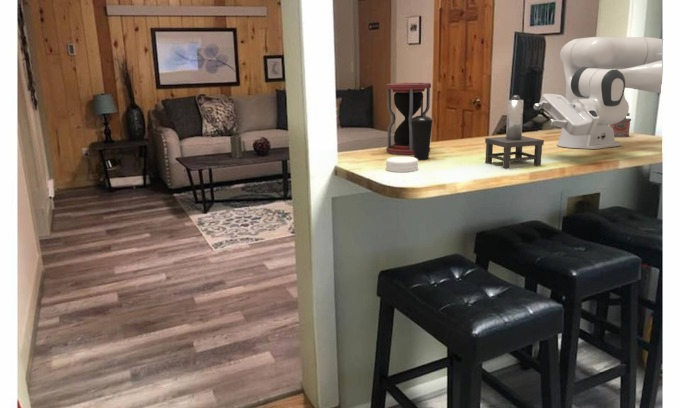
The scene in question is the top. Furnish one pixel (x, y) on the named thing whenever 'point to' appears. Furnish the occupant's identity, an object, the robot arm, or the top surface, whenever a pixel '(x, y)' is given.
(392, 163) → the coaster
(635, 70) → the robot arm
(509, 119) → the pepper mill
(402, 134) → the hourglass
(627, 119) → the lighter
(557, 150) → the top surface
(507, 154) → the stool
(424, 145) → the drinking cup
